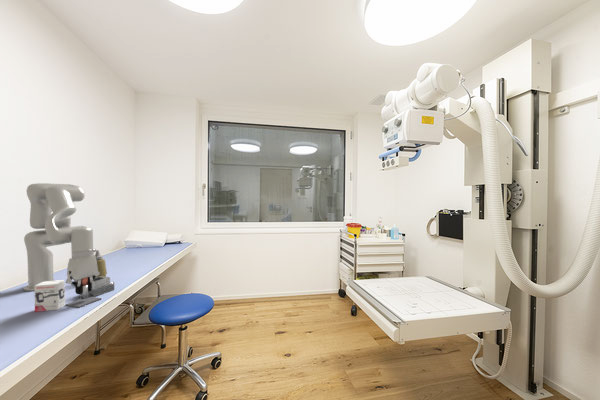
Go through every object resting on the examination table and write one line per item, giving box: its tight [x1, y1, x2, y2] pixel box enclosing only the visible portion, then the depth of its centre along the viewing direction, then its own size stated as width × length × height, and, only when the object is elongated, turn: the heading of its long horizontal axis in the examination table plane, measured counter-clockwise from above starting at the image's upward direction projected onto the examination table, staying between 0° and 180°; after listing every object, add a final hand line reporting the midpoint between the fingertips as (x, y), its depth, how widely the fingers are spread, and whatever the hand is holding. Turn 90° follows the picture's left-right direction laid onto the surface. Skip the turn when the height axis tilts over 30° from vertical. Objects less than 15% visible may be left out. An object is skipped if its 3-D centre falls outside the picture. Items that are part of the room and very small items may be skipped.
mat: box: [65, 296, 102, 309], centre depth 111 cm, size 9×9×1 cm
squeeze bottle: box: [94, 249, 108, 277], centre depth 140 cm, size 8×8×18 cm
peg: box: [79, 277, 88, 299], centre depth 110 cm, size 3×3×10 cm
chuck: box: [88, 276, 115, 297], centre depth 124 cm, size 10×13×7 cm
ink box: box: [34, 279, 66, 313], centre depth 105 cm, size 8×5×12 cm, turn 103°
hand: (83, 292), depth 110 cm, fingers closed on peg, 3 cm apart
